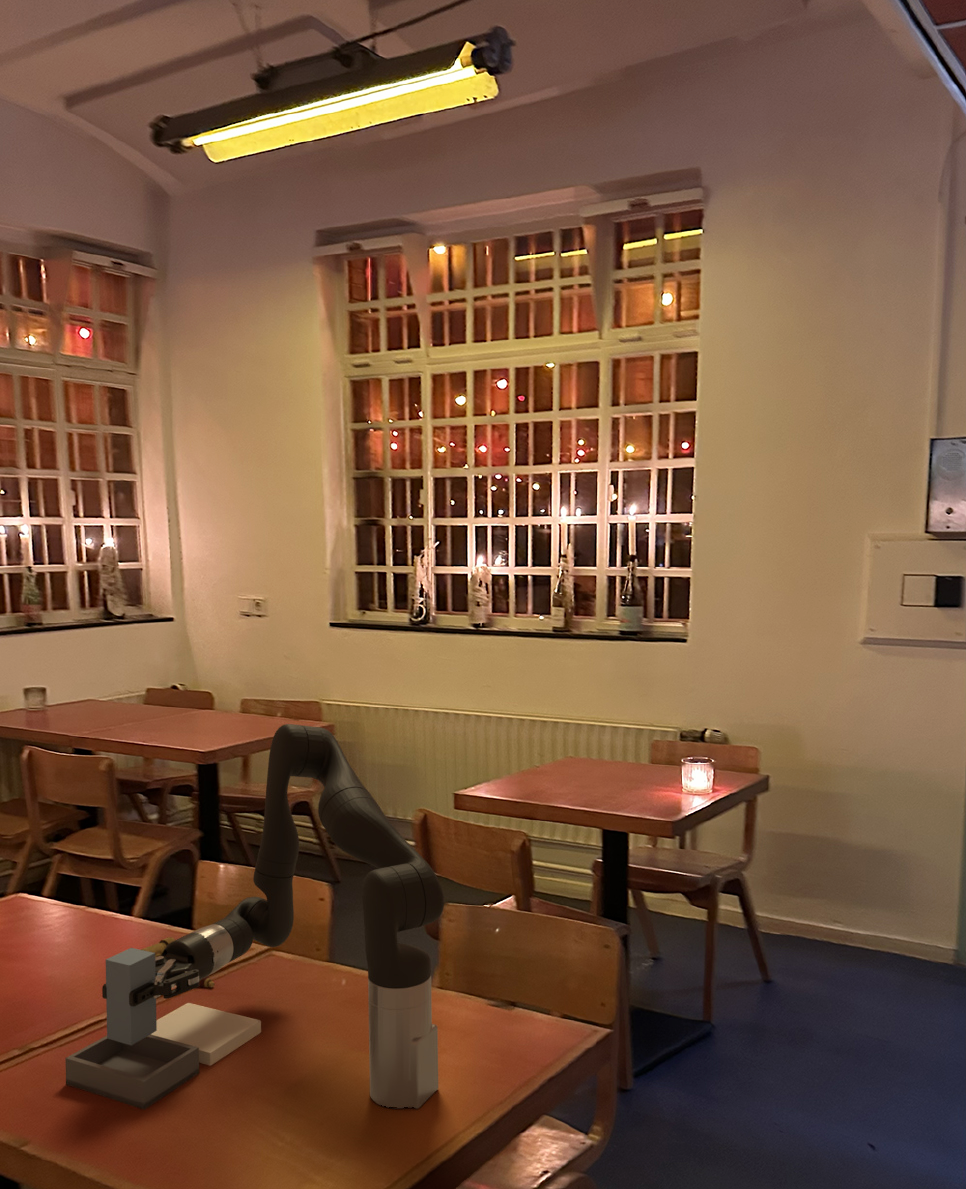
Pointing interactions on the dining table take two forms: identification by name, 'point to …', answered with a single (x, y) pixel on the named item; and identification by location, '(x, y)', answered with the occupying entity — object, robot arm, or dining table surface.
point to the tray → (132, 1069)
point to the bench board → (207, 1030)
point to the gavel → (159, 950)
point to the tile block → (120, 981)
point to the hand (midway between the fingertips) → (117, 996)
